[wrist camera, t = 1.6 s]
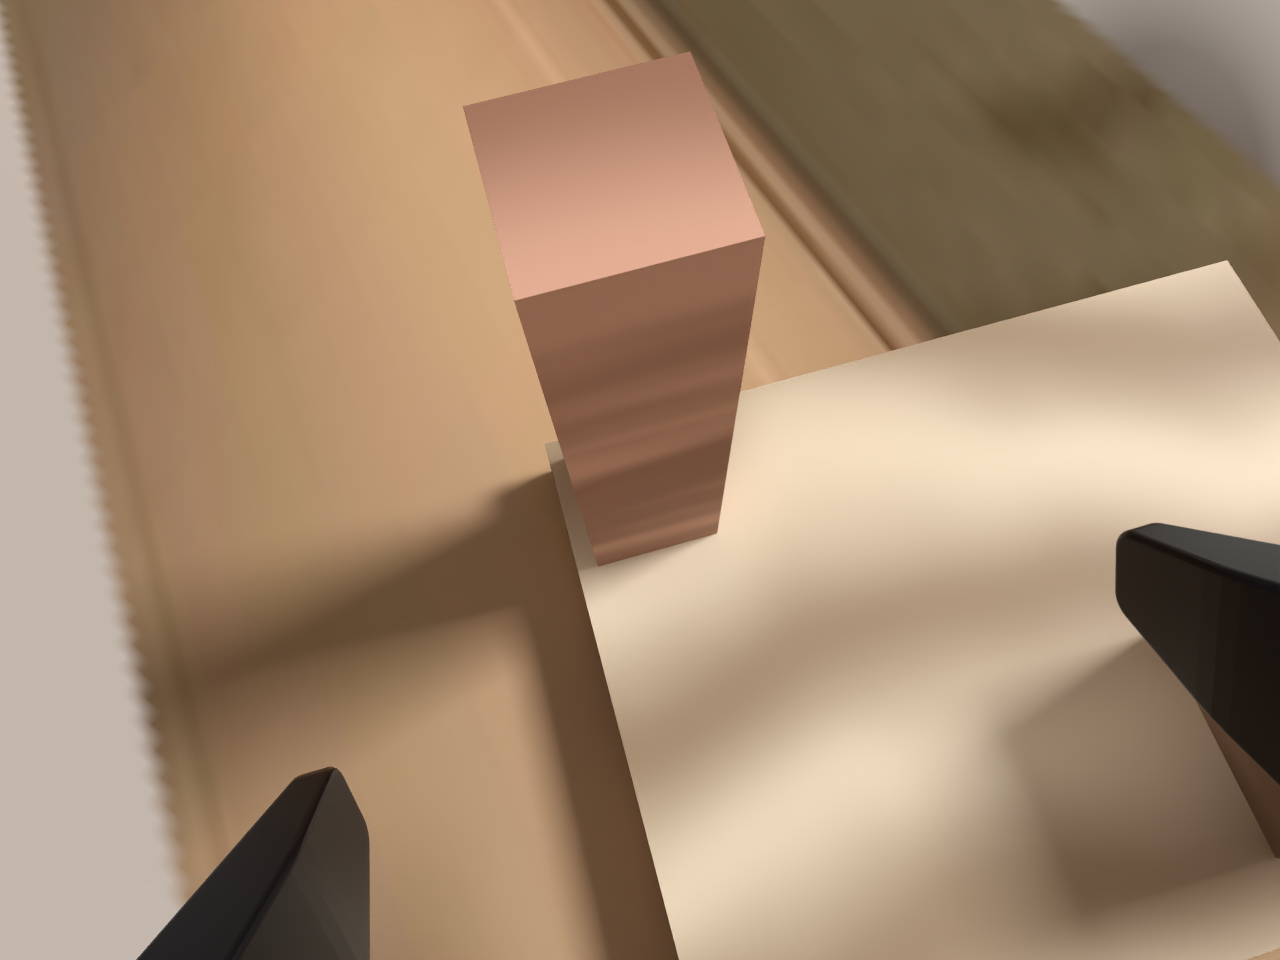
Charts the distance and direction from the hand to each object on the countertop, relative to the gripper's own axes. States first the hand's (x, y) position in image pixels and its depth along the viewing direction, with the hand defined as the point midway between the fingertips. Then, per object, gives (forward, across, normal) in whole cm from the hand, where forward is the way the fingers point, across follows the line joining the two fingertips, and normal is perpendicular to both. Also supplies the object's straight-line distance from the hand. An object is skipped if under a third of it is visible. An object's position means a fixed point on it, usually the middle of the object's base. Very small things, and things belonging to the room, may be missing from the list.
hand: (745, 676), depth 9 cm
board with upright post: (+8, -7, +8) cm, 14 cm away
